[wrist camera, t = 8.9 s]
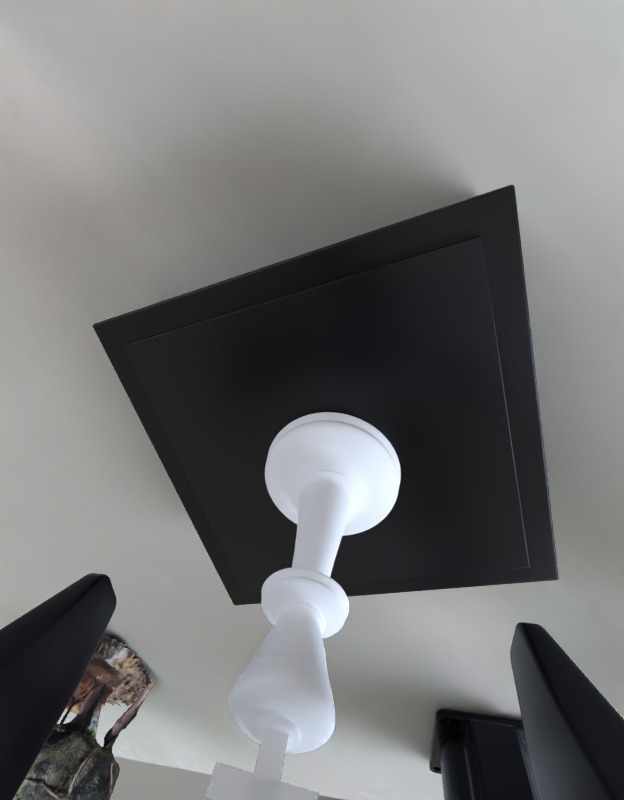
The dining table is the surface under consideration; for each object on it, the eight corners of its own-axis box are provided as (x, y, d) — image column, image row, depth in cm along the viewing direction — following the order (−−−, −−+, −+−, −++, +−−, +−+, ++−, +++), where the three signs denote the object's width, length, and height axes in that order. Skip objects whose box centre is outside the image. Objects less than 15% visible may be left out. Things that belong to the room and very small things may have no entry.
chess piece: (276, 397, 14) (58, 735, 4) (417, 429, 13) (491, 871, 4) (260, 508, 16) (91, 890, 7) (382, 538, 15) (381, 993, 6)
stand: (525, 511, 18) (561, 584, 15) (258, 544, 22) (232, 610, 18) (480, 195, 14) (517, 182, 10) (151, 305, 17) (87, 326, 14)
